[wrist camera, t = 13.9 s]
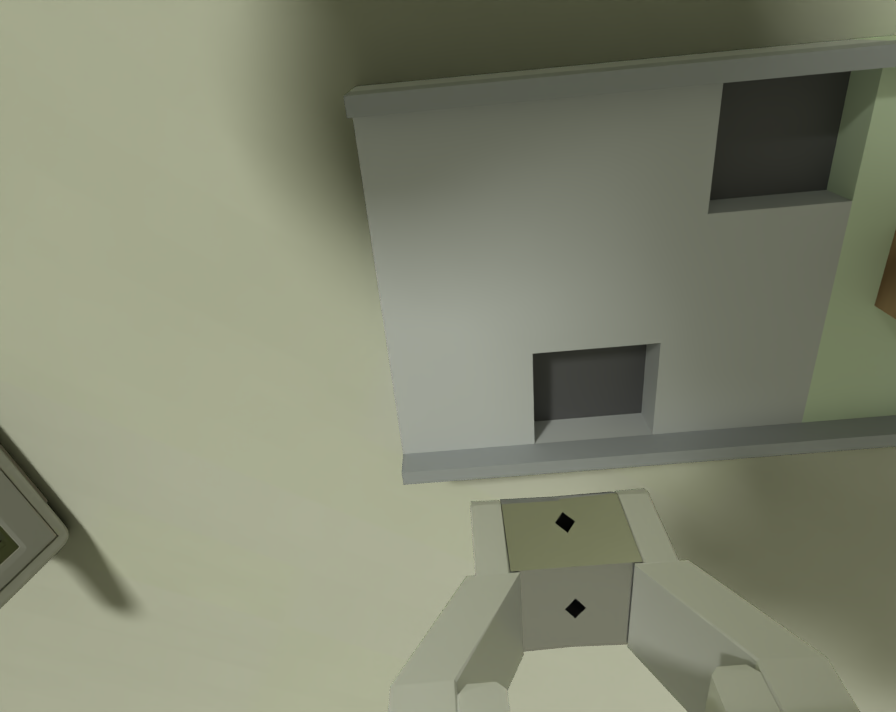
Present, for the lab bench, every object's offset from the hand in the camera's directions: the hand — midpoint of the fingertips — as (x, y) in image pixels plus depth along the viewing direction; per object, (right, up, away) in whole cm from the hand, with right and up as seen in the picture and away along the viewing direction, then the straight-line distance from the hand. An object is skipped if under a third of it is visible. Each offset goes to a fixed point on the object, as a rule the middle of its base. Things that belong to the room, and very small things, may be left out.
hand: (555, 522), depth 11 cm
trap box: (+12, +9, +29) cm, 32 cm away
